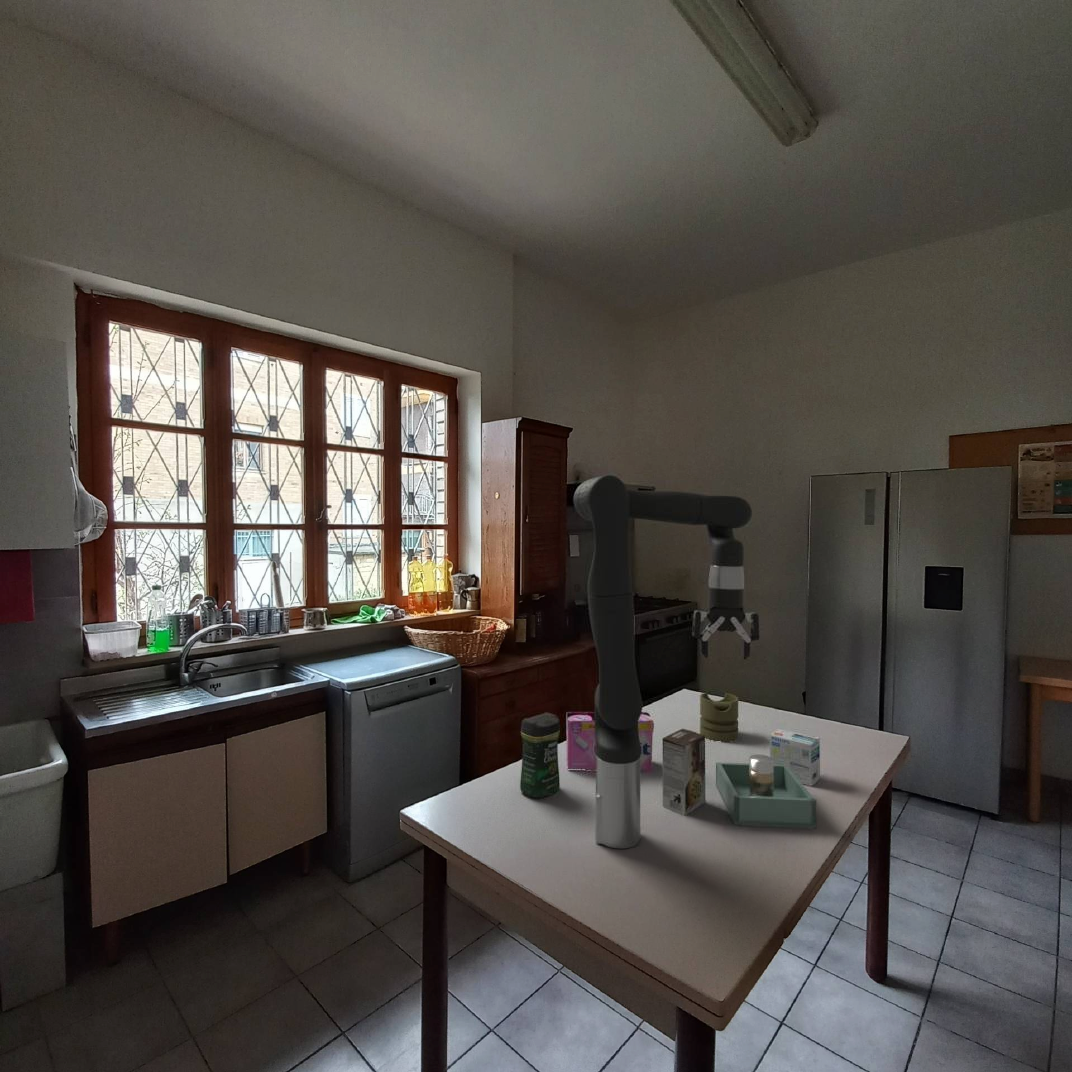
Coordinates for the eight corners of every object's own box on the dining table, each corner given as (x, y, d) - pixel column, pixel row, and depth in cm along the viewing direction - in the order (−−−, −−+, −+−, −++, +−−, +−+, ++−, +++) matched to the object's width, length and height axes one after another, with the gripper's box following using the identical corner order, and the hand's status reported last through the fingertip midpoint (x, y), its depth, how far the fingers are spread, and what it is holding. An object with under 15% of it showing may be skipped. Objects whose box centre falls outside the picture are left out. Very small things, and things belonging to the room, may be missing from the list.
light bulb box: (820, 779, 150) (821, 737, 150) (812, 787, 145) (812, 744, 145) (778, 767, 157) (778, 727, 157) (769, 775, 152) (769, 734, 152)
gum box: (651, 760, 162) (651, 711, 162) (657, 771, 154) (657, 721, 154) (566, 759, 162) (565, 711, 162) (567, 771, 155) (567, 720, 154)
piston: (741, 703, 174) (703, 701, 176) (741, 743, 175) (702, 741, 176) (734, 692, 186) (697, 691, 187) (734, 730, 186) (697, 728, 187)
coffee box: (682, 793, 141) (682, 727, 141) (706, 802, 137) (706, 734, 137) (661, 806, 135) (661, 737, 135) (685, 816, 130) (685, 744, 130)
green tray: (734, 824, 127) (734, 797, 126) (716, 786, 145) (716, 762, 145) (815, 828, 125) (816, 800, 125) (786, 788, 144) (786, 764, 144)
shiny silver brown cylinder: (752, 806, 133) (751, 762, 133) (747, 795, 138) (747, 753, 138) (776, 807, 132) (776, 763, 132) (770, 797, 137) (770, 754, 137)
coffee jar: (537, 802, 137) (537, 724, 137) (515, 791, 143) (514, 716, 142) (565, 789, 144) (565, 715, 143) (543, 779, 149) (543, 707, 149)
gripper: (697, 586, 128) (695, 660, 128) (763, 588, 126) (762, 663, 126) (691, 583, 135) (689, 653, 135) (754, 585, 134) (752, 655, 134)
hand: (724, 657), depth 131 cm, fingers open, 8 cm apart
